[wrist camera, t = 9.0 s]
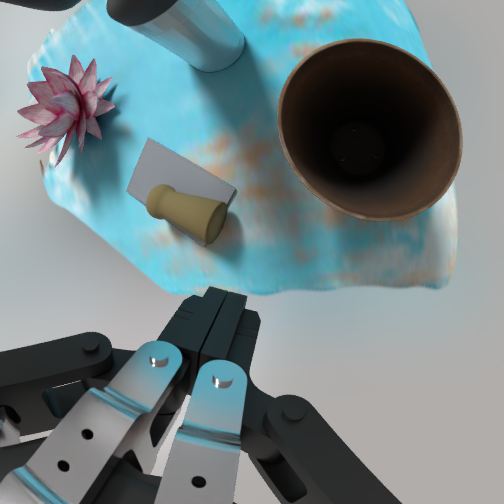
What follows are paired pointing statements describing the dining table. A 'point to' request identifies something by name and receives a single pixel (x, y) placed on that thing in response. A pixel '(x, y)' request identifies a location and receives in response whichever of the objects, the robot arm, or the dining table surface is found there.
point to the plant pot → (370, 129)
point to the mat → (174, 177)
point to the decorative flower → (66, 106)
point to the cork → (188, 211)
